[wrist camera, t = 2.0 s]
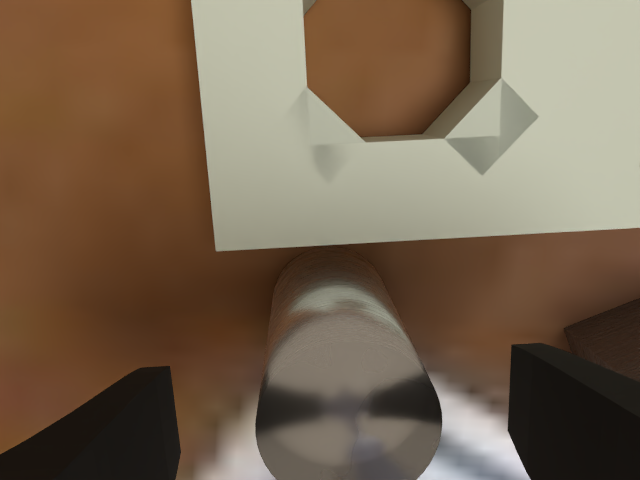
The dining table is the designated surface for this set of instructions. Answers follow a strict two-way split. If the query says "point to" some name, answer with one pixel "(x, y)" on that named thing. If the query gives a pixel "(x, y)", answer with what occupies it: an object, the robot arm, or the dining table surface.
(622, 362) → the square dark bit
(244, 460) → the dining table surface
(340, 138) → the sage board
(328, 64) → the dining table surface
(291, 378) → the cylinder
